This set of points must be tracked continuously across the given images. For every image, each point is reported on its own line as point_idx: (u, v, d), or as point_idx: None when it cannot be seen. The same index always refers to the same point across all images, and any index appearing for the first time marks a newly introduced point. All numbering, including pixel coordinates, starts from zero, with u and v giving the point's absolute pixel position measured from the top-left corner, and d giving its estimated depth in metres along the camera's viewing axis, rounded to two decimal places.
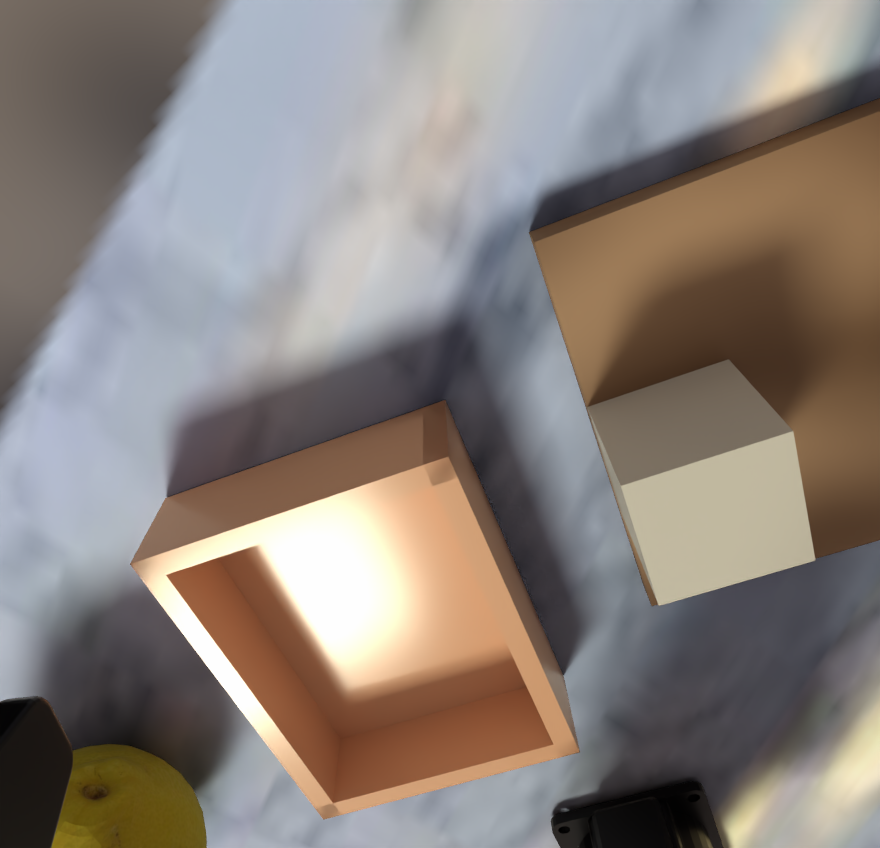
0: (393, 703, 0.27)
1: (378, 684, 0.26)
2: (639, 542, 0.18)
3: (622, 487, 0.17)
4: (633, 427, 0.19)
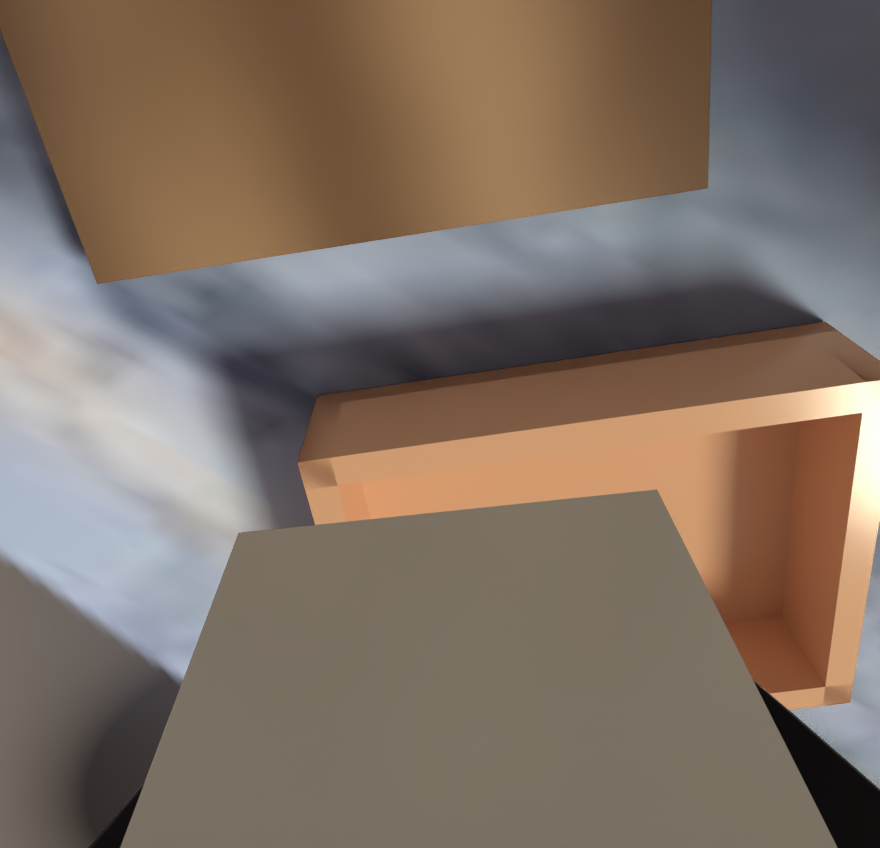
0: (748, 549, 0.20)
1: (708, 558, 0.20)
2: None
3: None
4: None
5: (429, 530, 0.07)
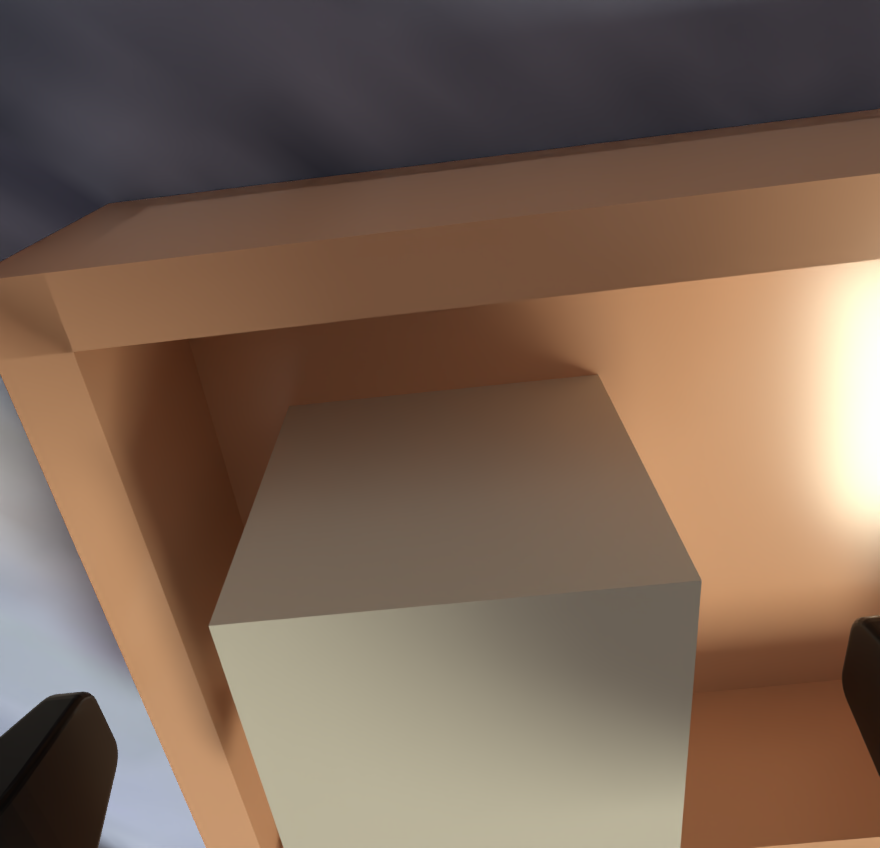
0: None
1: (857, 561, 0.11)
2: None
3: None
4: None
5: (431, 401, 0.09)
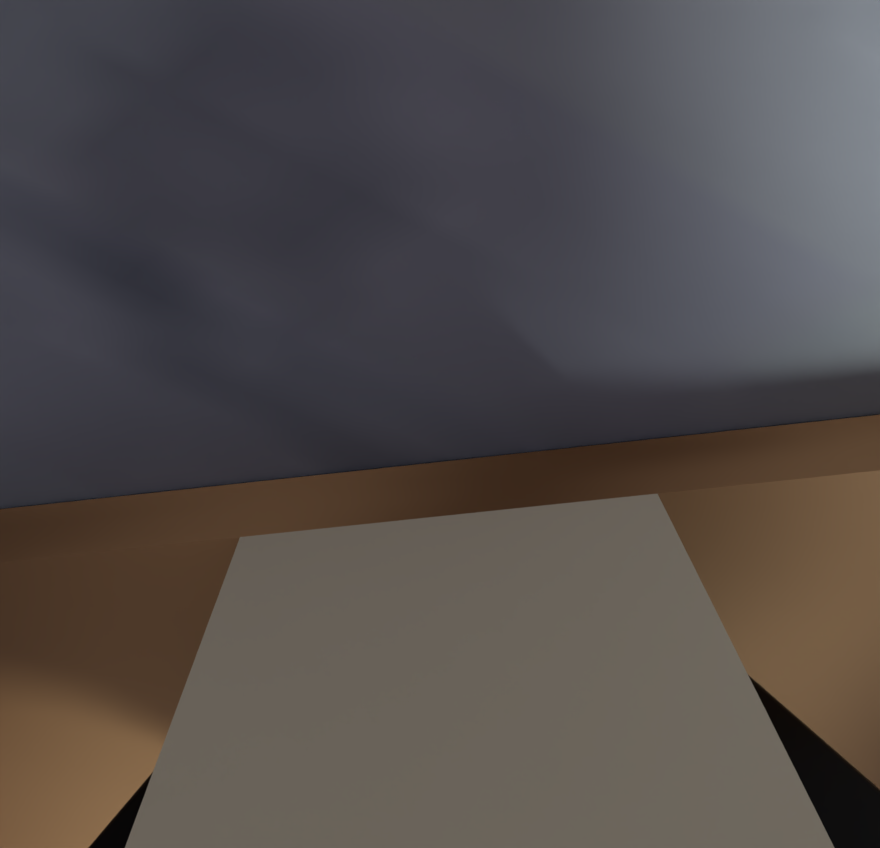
0: None
1: None
2: None
3: None
4: None
5: None
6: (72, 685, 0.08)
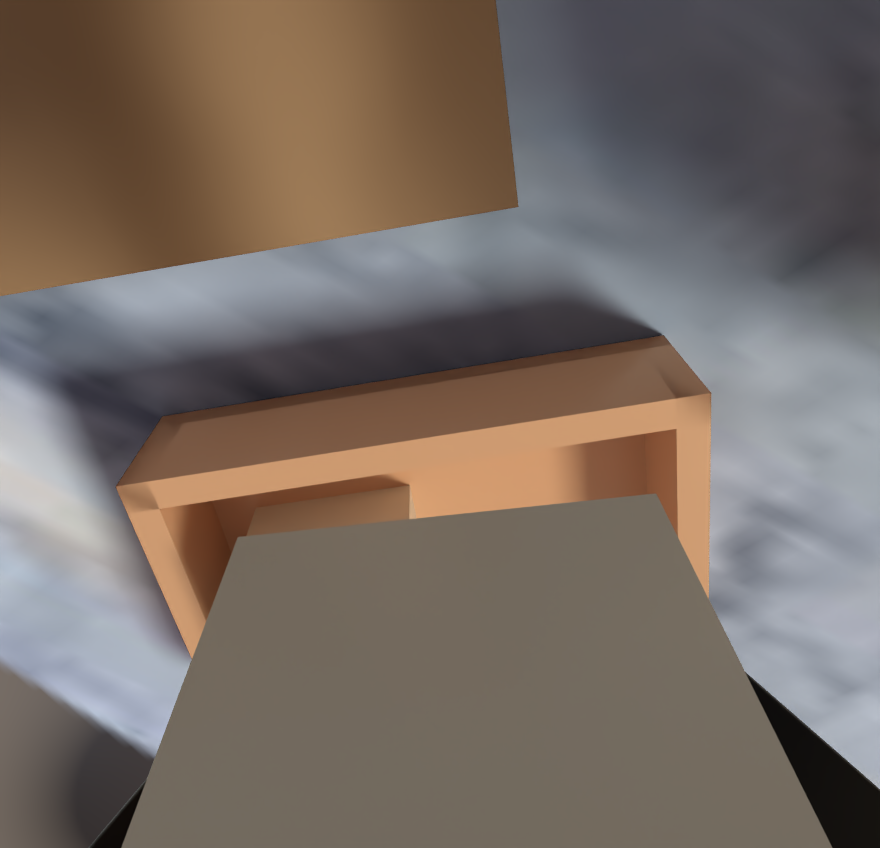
0: None
1: None
2: None
3: None
4: None
5: (325, 503, 0.18)
6: None
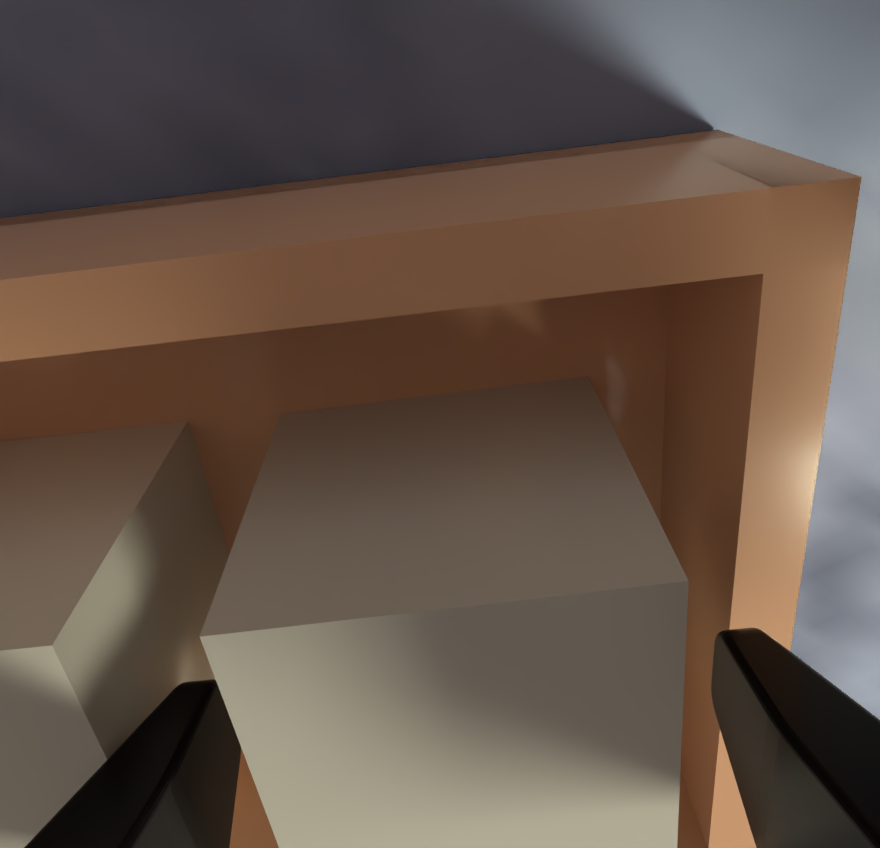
0: None
1: None
2: None
3: None
4: None
5: (16, 449, 0.09)
6: None
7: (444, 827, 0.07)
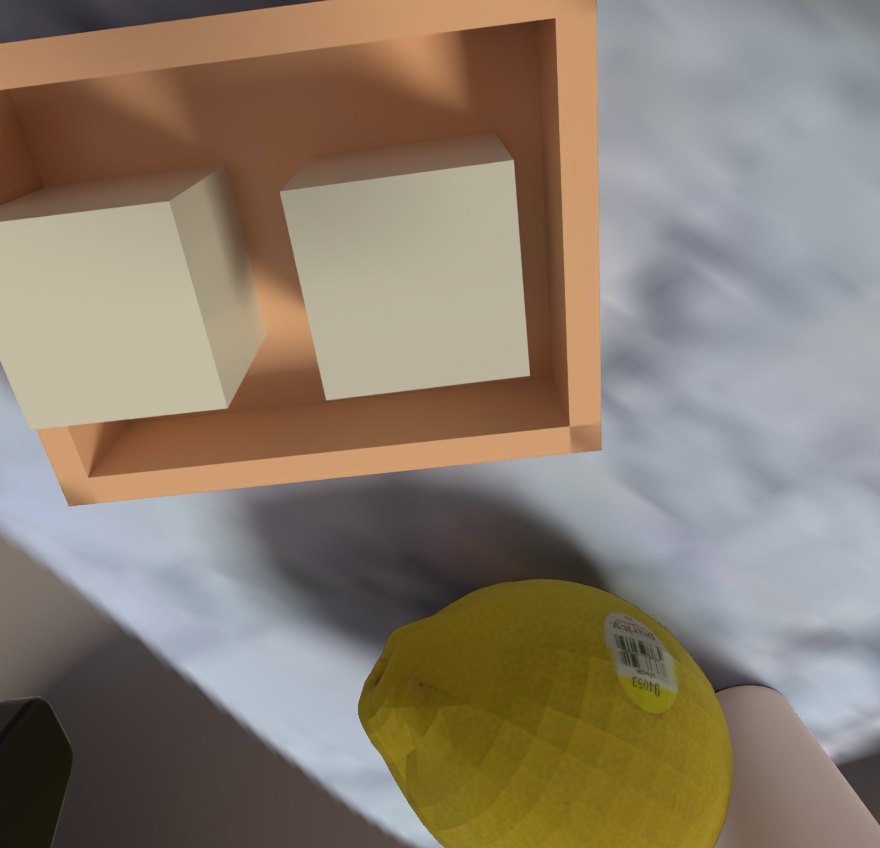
0: None
1: None
2: (119, 418, 0.15)
3: (32, 428, 0.15)
4: None
5: (124, 177, 0.16)
6: None
7: (401, 333, 0.14)
